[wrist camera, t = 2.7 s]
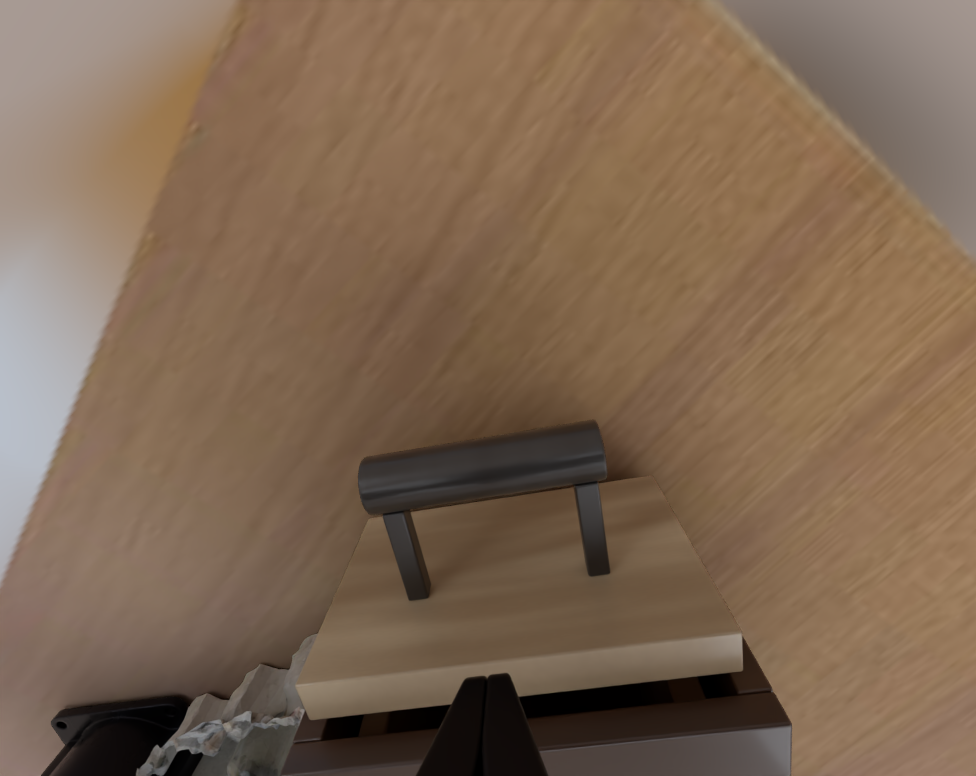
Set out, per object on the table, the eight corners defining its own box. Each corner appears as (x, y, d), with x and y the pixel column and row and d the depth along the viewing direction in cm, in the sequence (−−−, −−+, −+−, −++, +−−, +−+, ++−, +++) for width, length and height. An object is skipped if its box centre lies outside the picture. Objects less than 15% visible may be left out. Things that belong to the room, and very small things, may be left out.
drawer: (333, 410, 17) (225, 535, 10) (641, 356, 16) (739, 456, 9) (443, 748, 22) (418, 967, 16) (675, 723, 21) (751, 946, 15)
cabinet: (371, 542, 19) (277, 777, 11) (665, 498, 18) (794, 724, 10) (446, 769, 24) (416, 1055, 16) (686, 745, 23) (787, 1038, 15)
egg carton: (349, 610, 21) (319, 698, 17) (441, 719, 23) (432, 819, 19) (160, 702, 23) (93, 803, 19) (263, 796, 25) (221, 903, 21)
